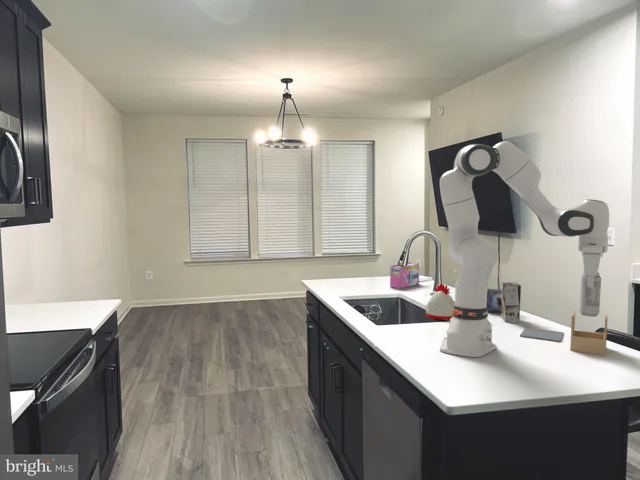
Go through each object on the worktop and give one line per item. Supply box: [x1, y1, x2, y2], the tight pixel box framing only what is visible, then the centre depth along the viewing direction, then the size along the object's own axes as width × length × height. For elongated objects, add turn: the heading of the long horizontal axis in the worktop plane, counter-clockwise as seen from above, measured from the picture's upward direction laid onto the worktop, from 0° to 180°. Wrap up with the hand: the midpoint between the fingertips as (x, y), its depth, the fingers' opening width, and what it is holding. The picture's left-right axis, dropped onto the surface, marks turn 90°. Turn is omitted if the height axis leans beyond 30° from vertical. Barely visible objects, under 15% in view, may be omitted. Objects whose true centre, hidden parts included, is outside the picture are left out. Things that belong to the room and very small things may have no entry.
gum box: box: [389, 262, 420, 289], centre depth 294 cm, size 24×8×14 cm, turn 138°
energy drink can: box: [579, 272, 602, 317], centre depth 163 cm, size 6×6×15 cm
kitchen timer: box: [425, 283, 455, 321], centre depth 212 cm, size 14×14×15 cm
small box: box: [487, 288, 502, 314], centre depth 222 cm, size 11×6×10 cm, turn 68°
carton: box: [569, 310, 608, 356], centre depth 164 cm, size 11×11×12 cm
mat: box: [519, 327, 564, 343], centre depth 182 cm, size 14×14×1 cm
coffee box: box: [500, 282, 522, 323], centre depth 206 cm, size 9×6×16 cm
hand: (590, 285), depth 163 cm, fingers closed on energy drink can, 6 cm apart
